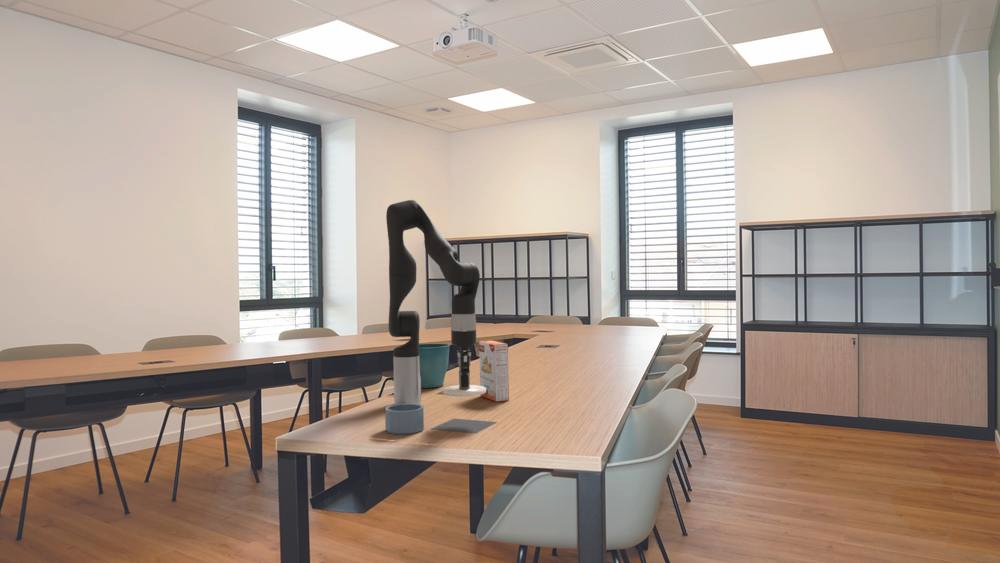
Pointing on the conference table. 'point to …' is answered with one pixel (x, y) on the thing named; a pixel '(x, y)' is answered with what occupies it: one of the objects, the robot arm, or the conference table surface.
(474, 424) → the mat
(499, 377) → the cracker box
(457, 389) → the lid
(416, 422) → the bowl
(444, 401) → the conference table surface
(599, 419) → the conference table surface
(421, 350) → the flower pot
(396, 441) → the conference table surface
